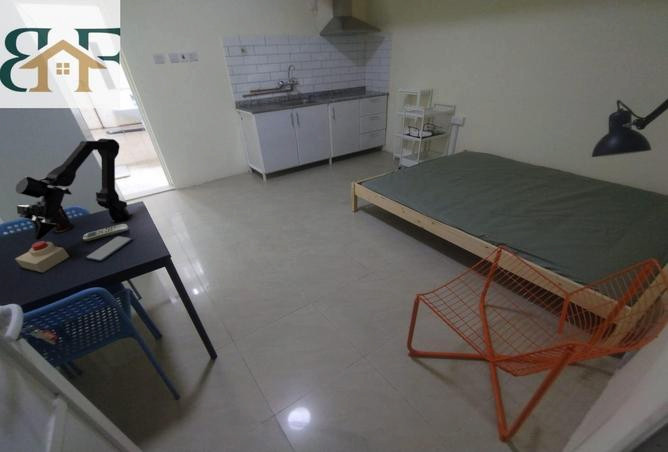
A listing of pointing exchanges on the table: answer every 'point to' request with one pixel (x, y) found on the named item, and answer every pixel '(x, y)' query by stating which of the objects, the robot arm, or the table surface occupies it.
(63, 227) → the coffee cup
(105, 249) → the smartphone
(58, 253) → the power button base
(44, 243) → the power button
